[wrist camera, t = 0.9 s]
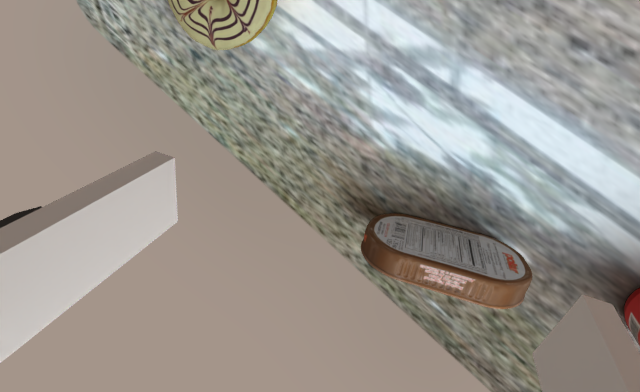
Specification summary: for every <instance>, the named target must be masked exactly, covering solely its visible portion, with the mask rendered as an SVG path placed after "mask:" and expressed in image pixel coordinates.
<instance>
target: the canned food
mask: <svg viewBox="0 0 640 392" xmlns="http://www.w3.org/2000/svg"><path fill="white" fill-rule="evenodd" d="M624 314H625V320H626V323H627V326H628V327H629V329H630V331H631V332H632V334H633V336H634V338H635V339H636V341H637V343H638V344H639V346H640V288H638V289H637V290H635V291H634V292H633V293H632V294H631V295H630V296H629V298H628V299H627V301H626V303H625V307H624Z"/></svg>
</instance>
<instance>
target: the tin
mask: <svg viewBox="0 0 640 392" xmlns="http://www.w3.org/2000/svg"><path fill="white" fill-rule="evenodd" d="M361 251H362V254H363V256H364V258H365V259H366V261H367V262H368V263H369V264H370V265H371V266H372V267H374V268H375V269H376V270H378V271H379V272H381V273H383V274H384V275H387V276H389V277H391V278H393V279H396V280H399V281H402V282H406V283H409V284H413V285H416V286H419V287H422V288H426V289H429V290H432V291H436V292H439V293H442V294H445V295H448V296H452V297H455V298H458V299H461V300H465V301H468V302H471V303H474V304H477V305H481V306H484V307H489V308H496V309H508V308H513V307H516V306H518V305H519V304H521V303H522V302H523V300H524V297H525V293H526V291H527V289H528V287H529V285H530V283H531V280H532V272H531V269H530V267H529V266H528V264H527V263H526V261H525V260H524V258H523V257H522V256H521V255H520V254H519V253H518V252H517V251H516V250H514V249H513V248H511V247H509V246H508V245H506V244H504V243H502V242H500V241H498V240H496V239H494V238H491V237H489V236H486V235H483V234H479V233H475V232H472V231H468V230H464V229H460V228H457V227H453V226H449V225H445V224H441V223H438V222H434V221H430V220H426V219H422V218H418V217H414V216H410V215H405V214H396V213H390V214H383V215H379V216H376V217H375V218H373V219H372V220H371V221H370V222H369V224H368V225H367V228H366V231H365V236H364V239H363V241H362V244H361Z"/></svg>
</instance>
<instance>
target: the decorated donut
mask: <svg viewBox="0 0 640 392" xmlns="http://www.w3.org/2000/svg"><path fill="white" fill-rule="evenodd" d="M168 2H169V5H170V7H171V9H172V11H173V13H174V15H175V17H176V19H177V20H178V22H179V24H180V25H181V26H182V28H183V29H184V30H185V31H186V32H187V33H188V35H189V36H190V37H191V38H192V39H194V40H195V41H197V42H199V43H201V44H203V45H205V46H207V47H209V48H212V49H214V50H229V49H232V48H235V47H239V46H242V45H244V44H246V43H248V42H250V41H252V40H253V39H254V38H256V37H257V35H258V34H260V33H261V31H262V30H263V29H264V28H265V27H266V26H267V24H268V22H269V21H270V19H271V18H272V16H273V13H274V11H275V8H276V5H277V0H168Z"/></svg>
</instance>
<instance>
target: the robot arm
mask: <svg viewBox="0 0 640 392" xmlns="http://www.w3.org/2000/svg"><path fill="white" fill-rule="evenodd" d="M176 222H178V215H177V195H176V176H175V158H174V157H171V156H168V155H165V154H162V153H159V152H156V151H155V152H153V153H151V154H149V155H147V156H145V157H143V158H141V159H139V160H137V161H135V162H133V163H131V164H129V165H127V166H125V167H123V168H121V169H119V170H117V171H115V172H113V173H111V174H109V175H107V176H105V177H103V178H101V179H99V180H97V181H95V182H93V183H91V184H89V185H87V186H85V187H82V188H80V189H79V190H76V191H74V192H72V193H70V194H69V195H66V196H64V197H63V198H60V199H58V200H56V201H54V202H52V203H50V204H48V205H46V206H44V207H41V206H40V207H37V208H33V209H29V210H26V211H22V212H19V213H16V214H13V215H11V216H9V217H7V218H5V219H3V220H1V221H0V362H2V361H3V360H4V359H6V358H7V357H8V356H10V355H11V354H12V353H13V352H14V351H16V350H17V349H18V348H19V347H21V346H22V345H23V344H25V343H26V342H27V341H28V340H30V339H31V338H32V337H33V336H35V335H36V334H37V333H38V332H40V331H41V330H42V329H43V328H45V327H46V326H47V325H48V324H50V323H51V322H52V321H53V320H55V319H56V318H57V317H58V316H60V315H61V314H62V313H63V312H65V311H66V310H67V309H68V308H70V307H71V306H72V305H73V304H75V303H76V302H77V301H78V300H80V299H81V298H82V297H84V296H85V295H86V294H87V293H88V292H90V291H91V290H92V289H93V288H95V287H96V286H97V285H99V284H100V283H101V282H102V281H104V280H105V279H106V278H107V277H109V276H110V275H111V274H112V273H114V272H115V271H116V270H117V269H119V268H120V267H121V266H122V265H124V264H125V263H126V262H127V261H129V260H130V259H131V258H132V257H134V256H135V255H136V254H137V253H139V252H140V251H141V250H142V249H144V248H145V247H146V246H147V245H149V244H150V243H151V242H153V240H155V239H156V238H157V237H159V236H160V235H161V234H163V233H164V232H165V231H166V230H168V229H169V228H170V227H171V226H172V225H174V224H175V223H176ZM533 357H534V361H535V365H536V369H537V373H538V377H539V381H540V385H541V389H542V392H640V353H639V351H638V349H637V347H636V346H635V344H634V342H633V340H632V338H631V337H630V335H629V333H628V331H627V330H626V328H625V326H624V324H623V322H622V321H621V319H620V317H619V315H618V313H617V312H616V310H615V308H614V306H613V304H610V303H607V302H604V301H601V300H598V299H595V298H592V297H589V296H586V295H583V294H582V295H581V296H580V298H579V299H578V300H577V301H576V302H575V304H574V305H573V306H572V307H571V308H570V310H569V311H568V312H567V313H566V314H565V315H564V317H563V318H562V319H561V320H560V321H559V323H558V324H557V325H556V326H555V327H554V329H553V330H552V331H551V332H550V333H549V334H548V336H547V337H546V338H545V339H544V340H543V342H542V343H541V344H540V345H539V346H538V348H537V349H536V350H535V351H534V352H533Z"/></svg>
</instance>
